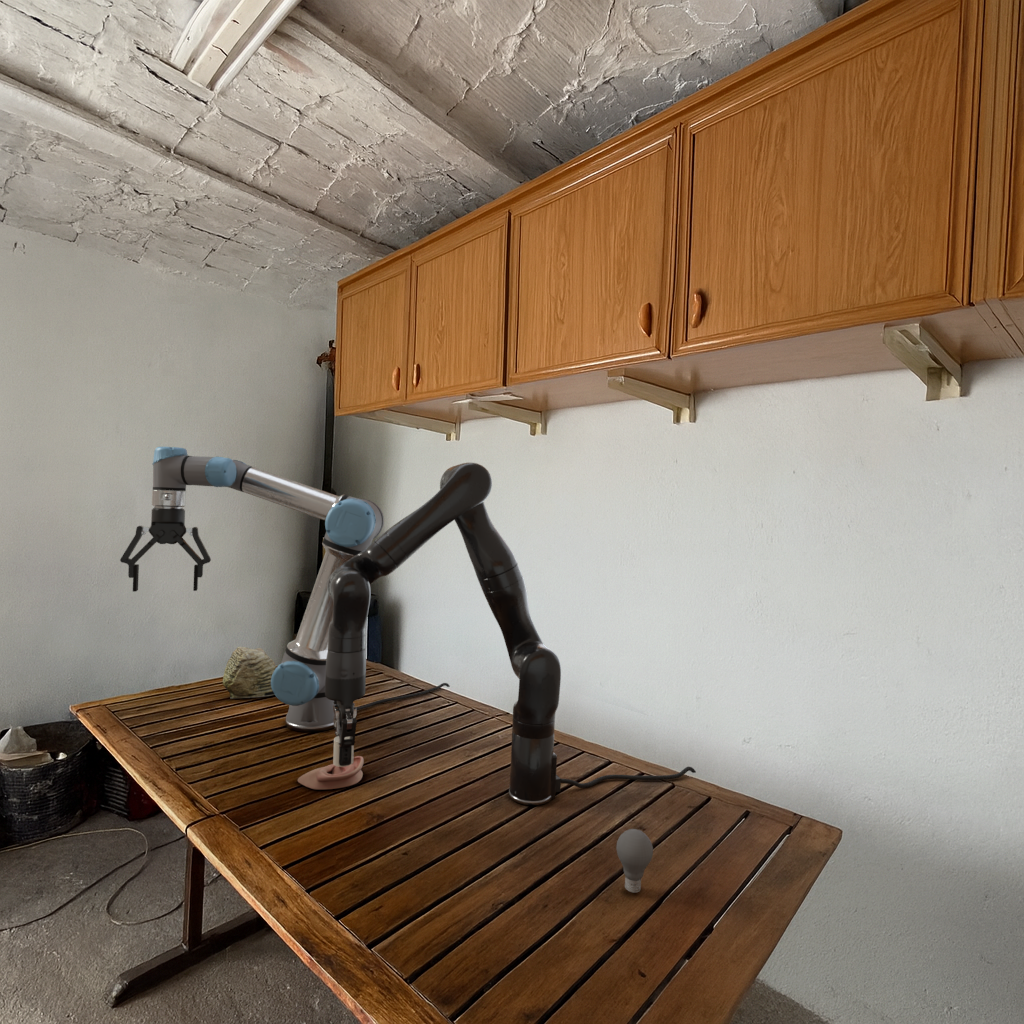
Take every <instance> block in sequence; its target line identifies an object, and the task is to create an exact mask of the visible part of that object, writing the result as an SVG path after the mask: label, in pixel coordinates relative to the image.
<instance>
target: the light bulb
mask: <svg viewBox="0 0 1024 1024" xmlns="http://www.w3.org/2000/svg"><path fill="white" fill-rule="evenodd" d="M615 849H616V854H617V857H618V859H619V861H620V863H621V865H622V867H623V873H624V874H623V875H624V876H625V878H624V888H625V890H627V891H628V892H630V893H634V894H635V893H639V892H640V891H641V889H642V887H641V886H642V879H643V877H644V875H645V871H646V868H647V867H648V866H649V864H650V863H651V861H652V859H653V855H654V847H653V843H652V841H651V838H649V836H648V835H647V834H646V833H645V832H643V831H642V830H641V829H636V828H629V829H627V830H625V831H623V832H622V833H621V834H620V835H619V837H618V839H617V841H616V847H615Z"/></svg>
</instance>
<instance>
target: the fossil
mask: <svg viewBox="0 0 1024 1024" xmlns="http://www.w3.org/2000/svg"><path fill="white" fill-rule="evenodd" d="M276 668H277V665H276V663H275V662H274V660H273V659H272V658H271V657H270V656H269V655H268V654H267V653H266V652H265V650H264V649H263V648H260V647H258V648H251V647H247V646H246V647H245V646H238V647H237V648H236V649H235V650H233V651H232V653H231V656H230V657H229V659H228V660H227V663H226V666H225V668H224V671H223V675H222V676H223V677H222V685H223V687H224V688H225V690H226V691H228V693H229V698H230V699H250V698H264V697H271V696H275V694H274V692H273V691H272V688H271V677H272V674H273V672H274V671H275V669H276Z"/></svg>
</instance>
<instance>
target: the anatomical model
mask: <svg viewBox="0 0 1024 1024" xmlns="http://www.w3.org/2000/svg"><path fill="white" fill-rule="evenodd" d="M363 766H364V757H363V756H361V755H356V756H354V758H353V764H351V765H349V766H345V767H338V766H335V765H334V764H333V763H331V764H328V765H326V766H322V767H318V768H315V769H312V770H310V771H308V772H306V773H304V774H302V775H300V776H299V777H298V778H297V782H298V784H300V785H302V786H304V787H306V788H309V789H312V790H319V791H321V790H333V789H335V790H336V789H342V788H346V787H350V786H353V785H356V784H358V783H359V782H360V781H361V780H362V779H363V775H364V773H363V771H362V768H363Z"/></svg>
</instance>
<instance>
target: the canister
mask: <svg viewBox="0 0 1024 1024" xmlns="http://www.w3.org/2000/svg"><path fill="white" fill-rule="evenodd" d="M344 739H349V737H345V738H344ZM338 742H339V736H335V737H334V738H333V757H332V764H334V765H335V766H338V767H345V766H349V765H345V766H340V765H339V744H338ZM354 752H355V744H354V745H353V746H352V751H351V764H353V758H354V757H355V755H354ZM351 764H350V765H351Z"/></svg>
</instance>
